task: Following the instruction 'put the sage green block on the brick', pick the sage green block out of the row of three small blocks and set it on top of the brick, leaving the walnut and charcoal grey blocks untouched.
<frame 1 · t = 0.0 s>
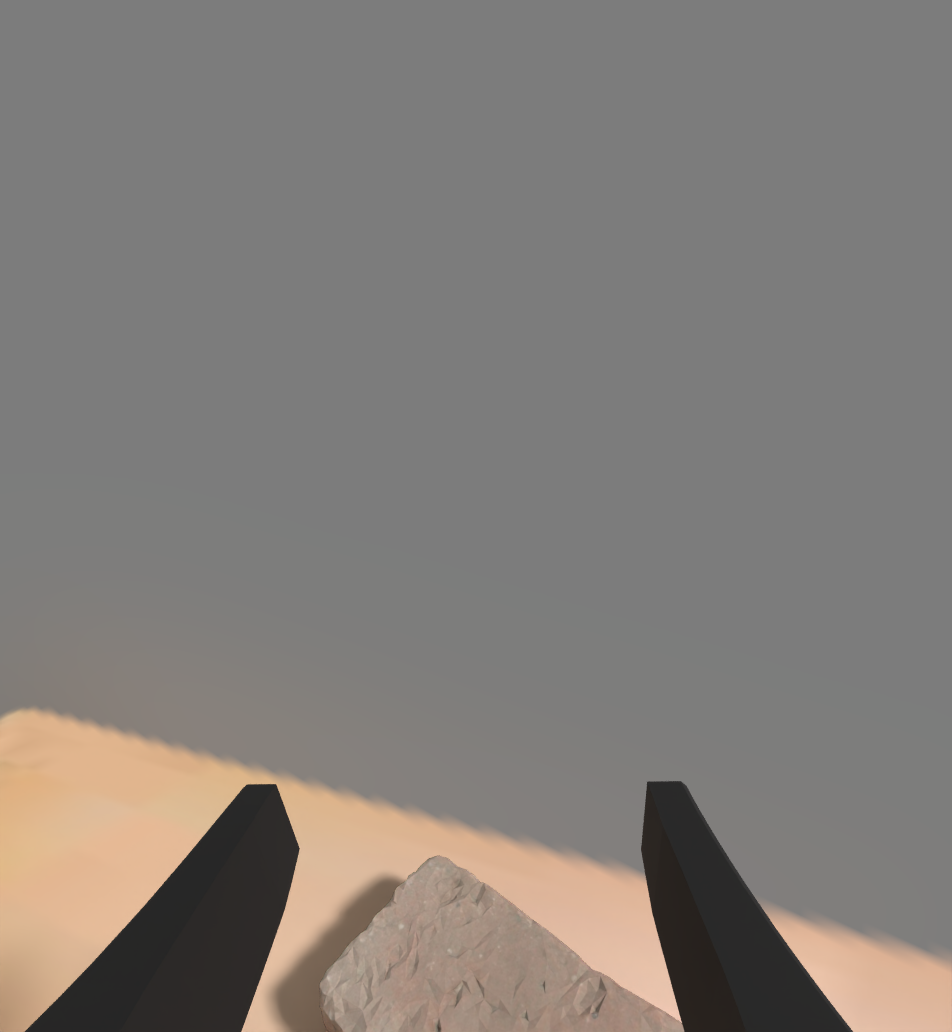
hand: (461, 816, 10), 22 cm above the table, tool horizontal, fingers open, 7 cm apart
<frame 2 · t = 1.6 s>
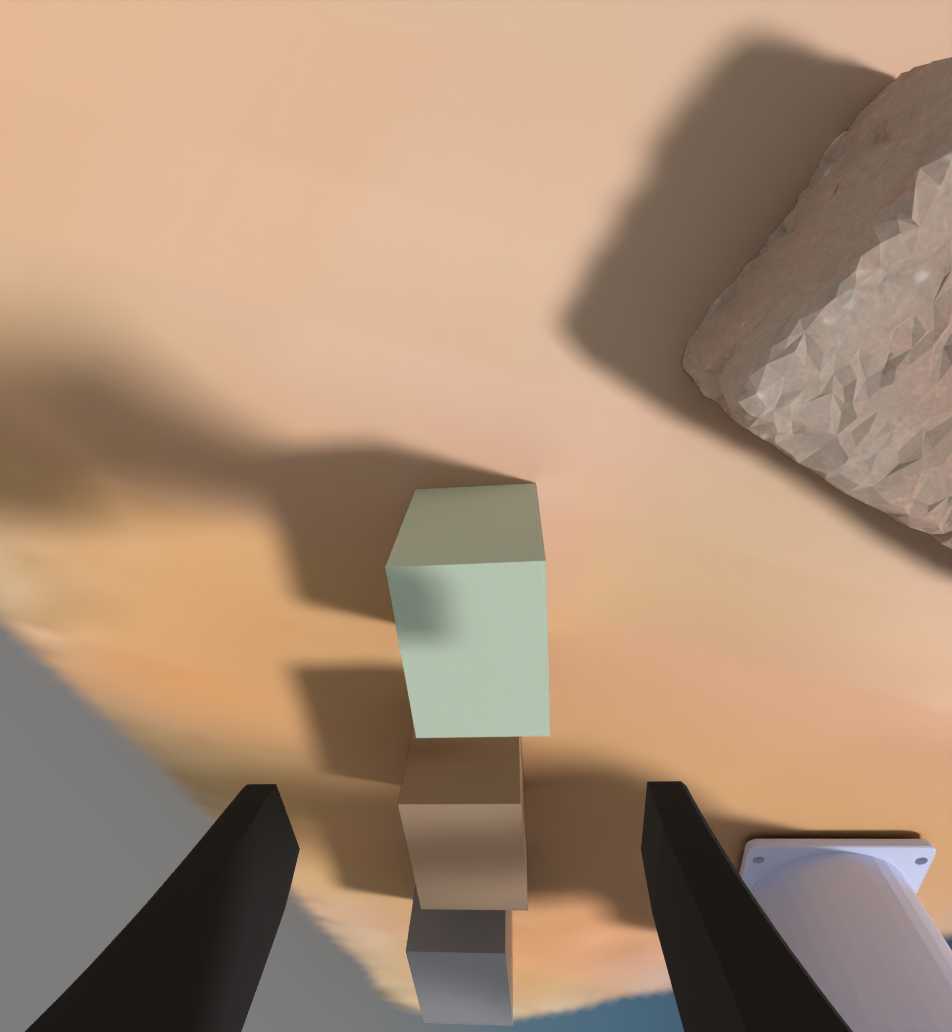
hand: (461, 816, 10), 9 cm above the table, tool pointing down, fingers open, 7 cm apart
grey block: (469, 868, 27), on the table
green block: (482, 562, 19), on the table
walnut block: (474, 742, 23), on the table
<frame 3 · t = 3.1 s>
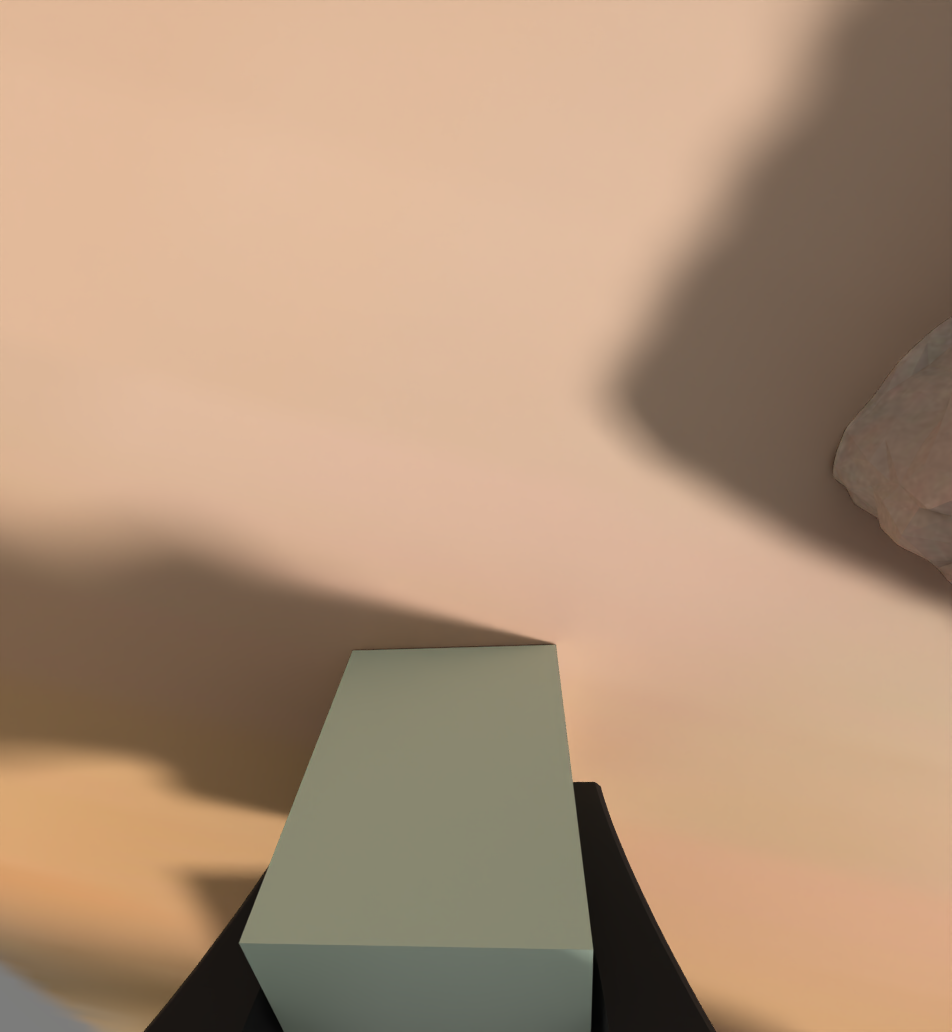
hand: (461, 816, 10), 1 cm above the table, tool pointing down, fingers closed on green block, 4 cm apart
green block: (466, 754, 12), on the table, touching gripper
when the fingers open (8 cm above the table, at t = 6.2 s): green block drops 2 cm, resting on brick.
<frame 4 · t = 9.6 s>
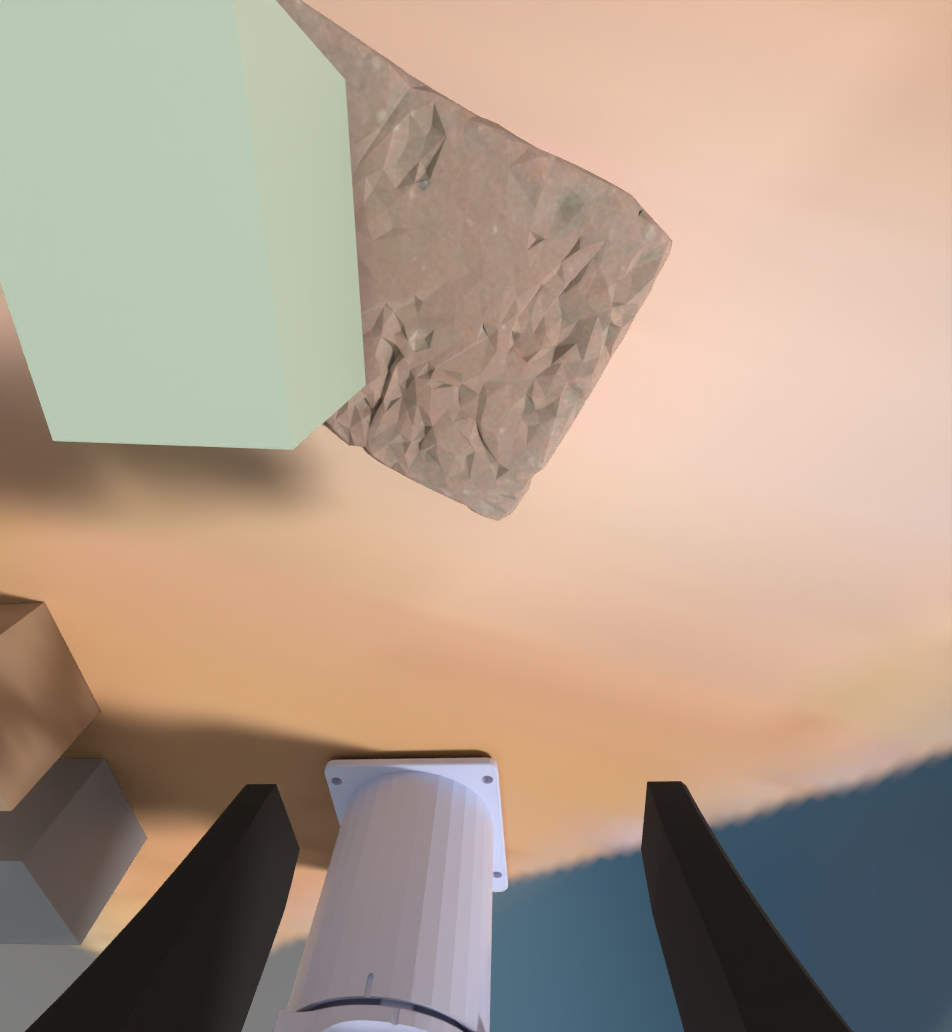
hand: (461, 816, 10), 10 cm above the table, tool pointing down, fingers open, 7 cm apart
grey block: (91, 798, 27), on the table
green block: (267, 247, 12), point 4 cm above the table, touching brick
walnut block: (33, 659, 23), on the table
brick: (334, 241, 16), on the table, touching green block
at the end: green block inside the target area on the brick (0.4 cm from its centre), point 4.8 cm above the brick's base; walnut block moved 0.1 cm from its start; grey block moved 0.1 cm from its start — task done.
